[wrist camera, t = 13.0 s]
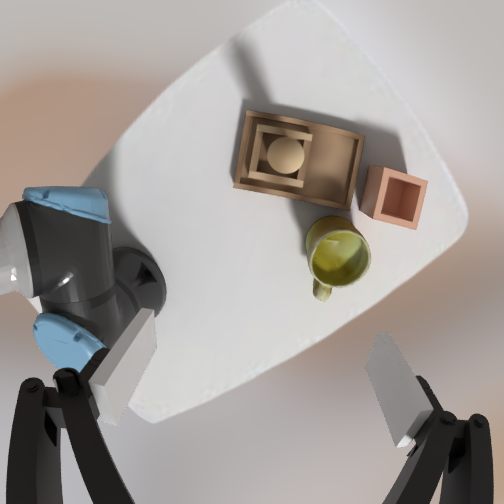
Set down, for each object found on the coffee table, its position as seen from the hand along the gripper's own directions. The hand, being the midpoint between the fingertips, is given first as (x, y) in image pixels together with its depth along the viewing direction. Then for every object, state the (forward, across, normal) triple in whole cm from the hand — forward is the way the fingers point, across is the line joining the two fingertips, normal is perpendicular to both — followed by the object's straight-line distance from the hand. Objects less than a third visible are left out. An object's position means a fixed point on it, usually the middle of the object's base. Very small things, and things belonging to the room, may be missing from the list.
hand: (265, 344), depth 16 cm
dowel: (+31, +1, +11) cm, 33 cm away
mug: (+32, +11, -4) cm, 34 cm away
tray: (+32, +4, +10) cm, 34 cm away
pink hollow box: (+32, +19, +7) cm, 38 cm away
